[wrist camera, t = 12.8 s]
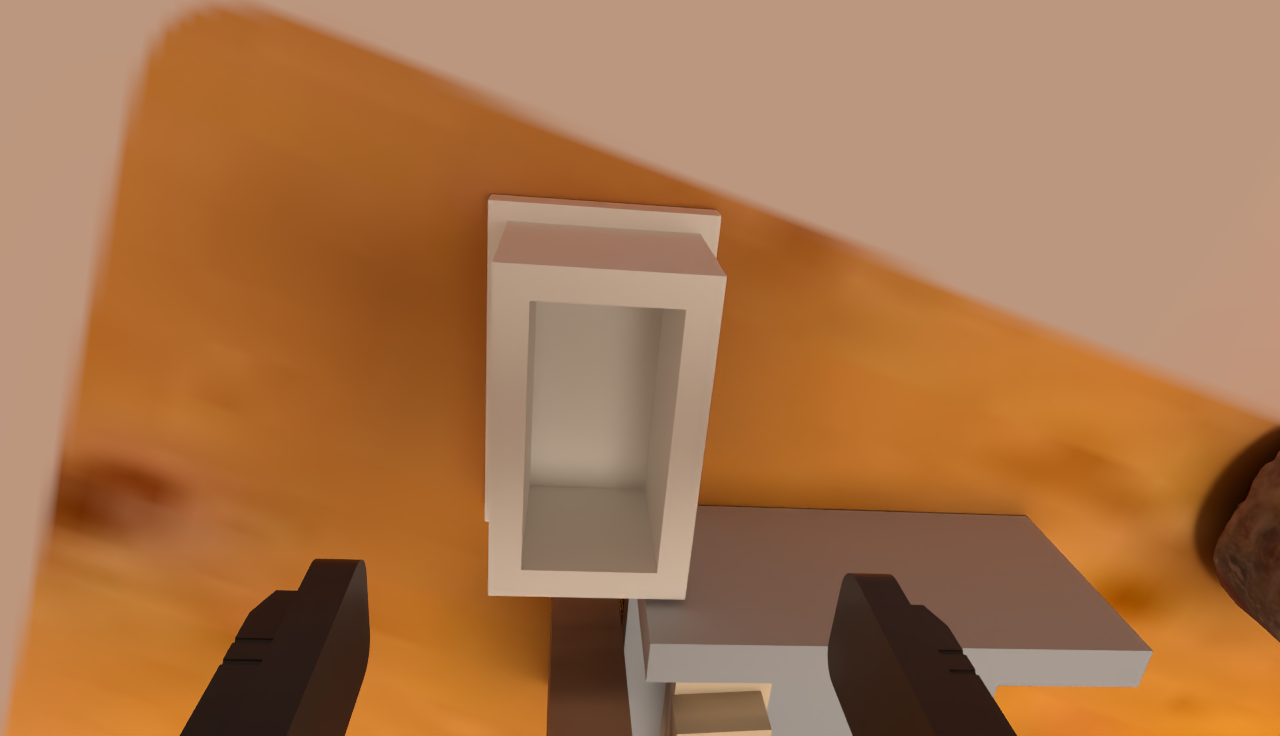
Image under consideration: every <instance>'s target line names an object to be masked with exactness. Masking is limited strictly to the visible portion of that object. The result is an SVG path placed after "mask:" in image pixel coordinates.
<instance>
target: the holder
mask: <svg viewBox="0 0 1280 736" xmlns="http://www.w3.org/2000/svg"><path fill="white" fill-rule="evenodd" d="M721 217H722V216H721V215H720V213H719V212H718V211H717V210H712V209H697V208H683V207H669V206H654V205H640V204H626V203H612V202H597V201H583V200H569V199H554V198H540V197H526V196H511V195H497V194H491V195H490V197H489V199H488V249H487V347H486V444H485V522H489V548H488V596H529V597H578V598H628V599H677V600H685V596H686V589H687V581H688V573H689V566H690V558H691V550H692V543H693V535H694V527H695V519H696V512H697V504H698V496H699V489H700V481H701V473H702V466H703V458H704V450H705V442H706V435H707V427H708V419H709V412H710V404H711V396H712V389H713V381H714V373H715V366H716V358H717V350H718V342H719V335H720V327H721V319H722V312H723V304H724V296H725V289H726V281H727V276H726V274H725V272H724V271H723V269H722V268H721V266H720V264H719V263H718V261H717V260H716V257H717V249H718V241H719V233H720V225H721Z"/></svg>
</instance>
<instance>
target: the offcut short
mask: <svg viewBox="0 0 1280 736" xmlns="http://www.w3.org/2000/svg"><path fill="white" fill-rule="evenodd" d="M771 733H772V729H771V725H770V721H769V718H768V714H767V711H766V707H765V704H764V700H763V696H762V693H761V691H743V692H721V693H699V694H677V695H671V709H670V735H669V736H771Z"/></svg>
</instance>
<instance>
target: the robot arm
mask: <svg viewBox="0 0 1280 736" xmlns="http://www.w3.org/2000/svg"><path fill="white" fill-rule="evenodd" d="M369 647H370V627H369V610H368V593H367V576H366V566H365V562H364V561H363V560H349V559H315V560H314V561H313V562H312V563H311V565H310V567H309V569H308V571H307V573H306V575H305V577H304V579H303V581H302V583H301V585H300V587H299V589H298V591H284V590H276V591H275V592H274V593H272V594H271V595H270V596H269V597H268V598H266V599H265V600H264V601H263V602H262V603H260V604H259V605H258V606H257V607H256V608H254V609H253V610H252V611H251V612H250V613H249V615H248V616H247V618H246V620H245V622H244V623H243V625H242V627H241V629H240V630H239V632H238V634H237V636H236V637H235V643H232V644H231V646H230V648H229V650H228V652H227V653H226V655H225V657H224V659H223V664H222V665H220V666H219V667H218V669H217V671H216V673H215V674H214V676H213V678H212V680H211V681H210V683H209V685H208V687H207V689H206V690H205V692H204V694H203V696H202V697H201V699H200V701H199V703H198V704H197V706H196V708H195V710H194V711H193V713H192V715H191V717H190V718H189V720H188V722H187V724H186V726H185V727H184V729H183V731H182V733H181V734H180V736H345V733H346V730H347V727H348V724H349V721H350V718H351V715H352V712H353V709H354V706H355V703H356V700H357V697H358V694H359V691H360V688H361V685H362V682H363V679H364V676H365V672H366V668H367V663H368V657H369ZM827 656H828V669H829V675H830V679H831V682H832V685H833V687H834V690H835V692H836V695H837V697H838V700H839V703H840V705H841V708H842V710H843V713H844V715H845V718H846V720H847V723H848V725H849V728H850V731H851V733H852V736H1017V735H1016V734H1015V732H1014V730H1013V729H1012V727H1011V726H1010V724H1009V722H1008V721H1007V719H1006V718H1005V716H1004V714H1003V713H1002V711H1001V710H1000V708H999V706H998V705H997V703H996V702H995V700H994V698H993V697H992V695H991V694H990V692H989V690H988V689H987V687H986V686H985V684H984V683H983V681H982V679H981V678H980V676H979V675H976V673H975V668H974V667H973V665H972V663H971V662H970V660H969V659H968V657H967V655H964V654H963V649H962V647H961V646H960V644H959V643H958V641H957V639H956V638H955V636H954V635H953V633H952V632H951V630H950V628H949V627H948V626H947V625H946V624H945V623H944V622H943V621H942V620H940V619H939V618H938V617H937V616H936V615H935V614H933V613H932V612H931V611H930V610H929V609H927V608H926V607H925V606H924V605H911V604H910V602H909V600H908V599H907V597H906V595H905V594H904V592H903V590H902V589H901V587H900V585H899V583H898V582H897V580H896V579H895V577H894V576H893V575H891V574H871V573H847V574H846V575H845V576H844V578H843V580H842V584H841V588H840V592H839V597H838V602H837V606H836V611H835V615H834V620H833V624H832V629H831V633H830V638H829V643H828V654H827Z"/></svg>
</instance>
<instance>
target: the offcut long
mask: <svg viewBox="0 0 1280 736" xmlns="http://www.w3.org/2000/svg"><path fill="white" fill-rule="evenodd" d="M771 687H772V683H675V682H666V689H665V697H664V705H663V713H662V721H661V729H660V736H669V735H670V709H671V695H677V694H699V693H721V692H743V691H761V693H762V696H763V700H764V704H765V707H766V711H767V708H768V703H769V697H770V692H771Z"/></svg>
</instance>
